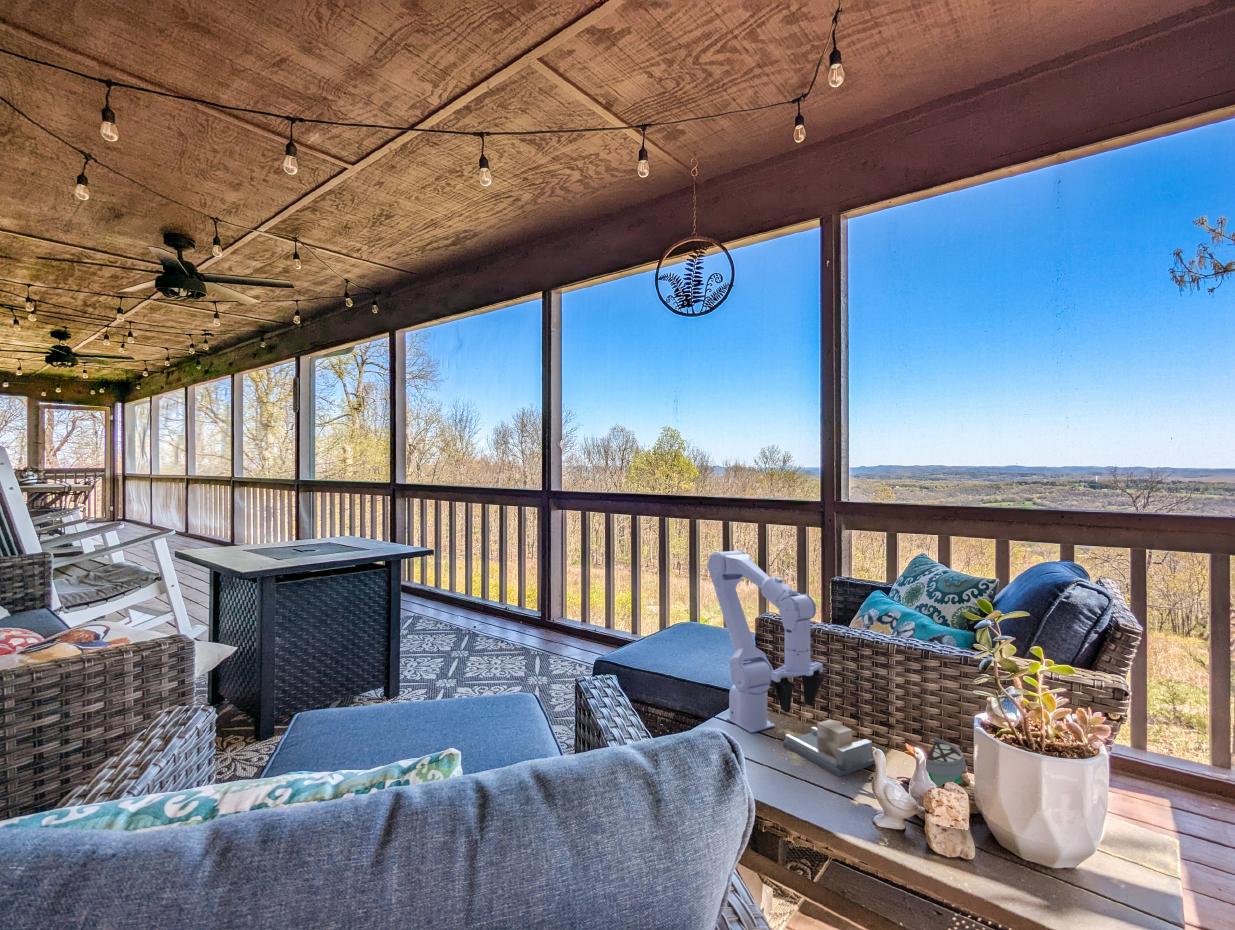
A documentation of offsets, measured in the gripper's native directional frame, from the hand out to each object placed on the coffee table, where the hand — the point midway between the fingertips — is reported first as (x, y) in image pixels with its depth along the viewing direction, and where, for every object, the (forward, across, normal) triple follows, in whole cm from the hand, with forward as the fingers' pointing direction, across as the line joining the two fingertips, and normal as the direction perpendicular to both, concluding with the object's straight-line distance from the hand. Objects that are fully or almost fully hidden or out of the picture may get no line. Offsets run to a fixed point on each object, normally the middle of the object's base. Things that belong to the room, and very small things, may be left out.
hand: (797, 707), depth 131 cm
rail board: (+9, +4, -5) cm, 11 cm away
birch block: (+8, +4, -7) cm, 12 cm away
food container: (+10, +8, -30) cm, 32 cm away
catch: (+8, +4, -11) cm, 14 cm away
